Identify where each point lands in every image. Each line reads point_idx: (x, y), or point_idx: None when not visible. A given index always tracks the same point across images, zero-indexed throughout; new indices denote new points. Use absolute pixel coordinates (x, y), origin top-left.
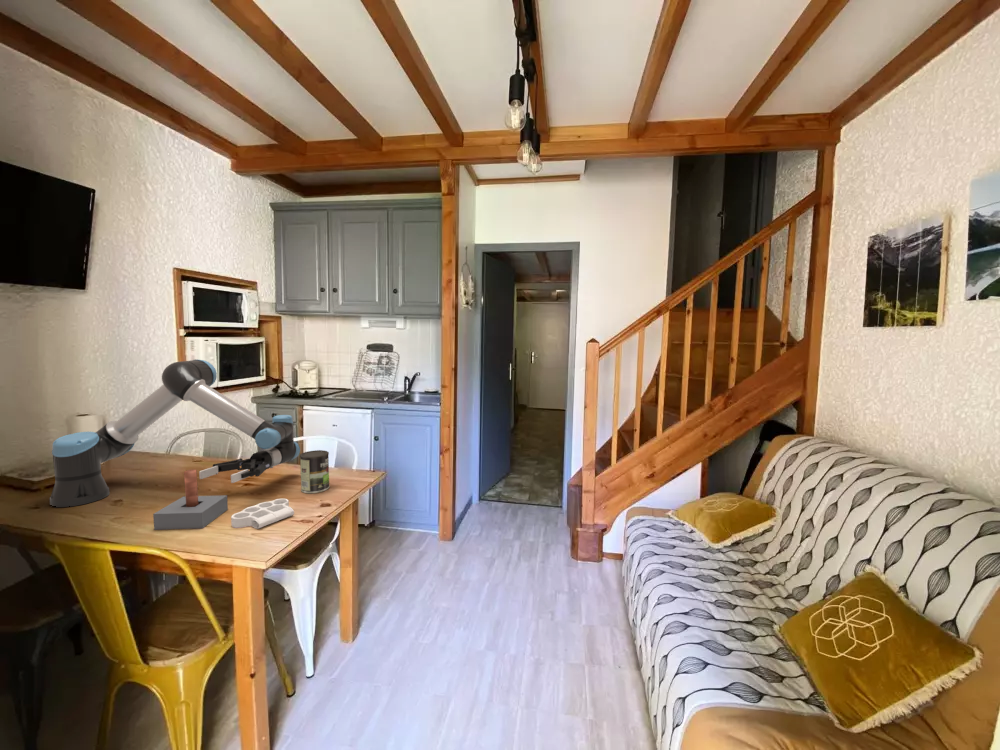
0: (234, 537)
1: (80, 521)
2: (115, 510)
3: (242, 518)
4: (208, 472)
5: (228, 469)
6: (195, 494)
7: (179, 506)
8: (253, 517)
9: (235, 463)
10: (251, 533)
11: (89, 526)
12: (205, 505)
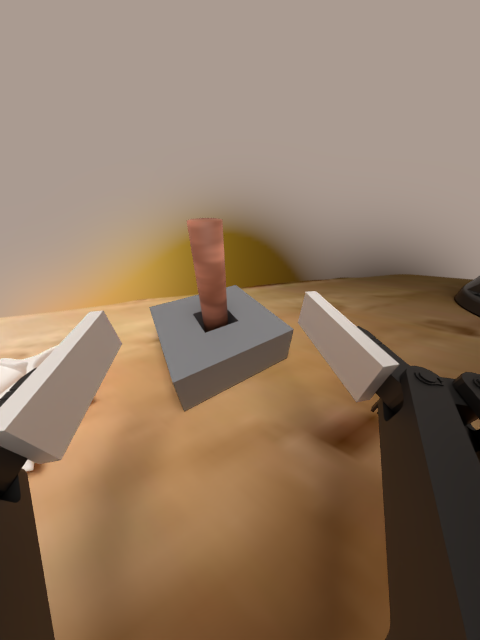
0: (65, 336)
1: (358, 291)
2: (389, 315)
3: (50, 348)
4: (322, 330)
5: (390, 487)
6: (199, 295)
7: (228, 305)
8: (12, 359)
9: (459, 618)
10: (28, 355)
11: (326, 291)
12: (174, 323)
